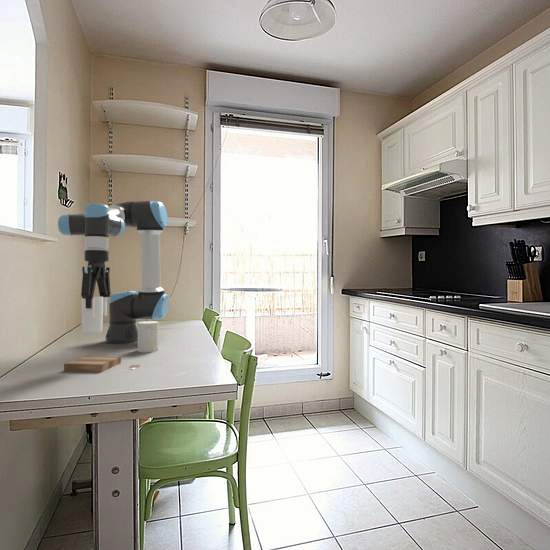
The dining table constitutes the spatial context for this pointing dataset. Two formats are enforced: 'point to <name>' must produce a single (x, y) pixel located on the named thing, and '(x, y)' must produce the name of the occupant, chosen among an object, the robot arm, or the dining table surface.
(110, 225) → the robot arm
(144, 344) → the cup
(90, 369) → the base brick
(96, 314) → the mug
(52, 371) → the dining table surface
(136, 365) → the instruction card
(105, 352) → the dining table surface
